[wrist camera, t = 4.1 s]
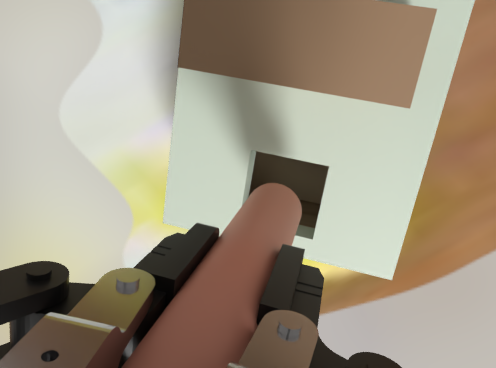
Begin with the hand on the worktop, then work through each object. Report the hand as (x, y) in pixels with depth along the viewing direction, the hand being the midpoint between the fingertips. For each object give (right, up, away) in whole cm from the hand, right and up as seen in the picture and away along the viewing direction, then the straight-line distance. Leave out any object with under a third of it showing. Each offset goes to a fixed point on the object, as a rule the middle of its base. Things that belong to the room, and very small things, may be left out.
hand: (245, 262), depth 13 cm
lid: (+3, +6, +7) cm, 10 cm away
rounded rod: (+1, +1, +5) cm, 5 cm away
